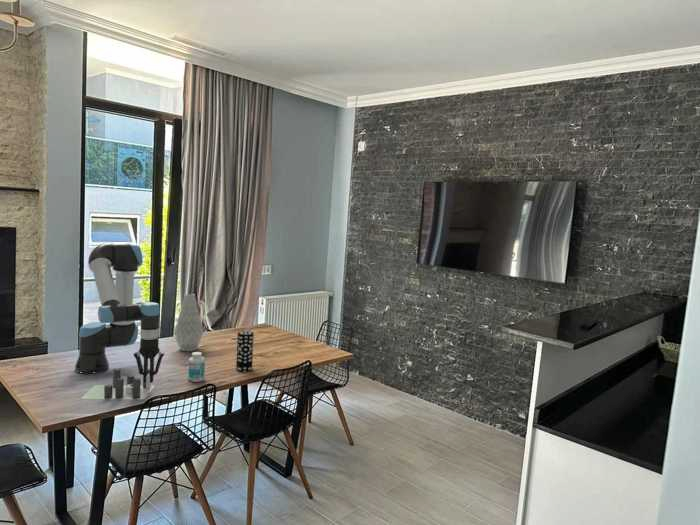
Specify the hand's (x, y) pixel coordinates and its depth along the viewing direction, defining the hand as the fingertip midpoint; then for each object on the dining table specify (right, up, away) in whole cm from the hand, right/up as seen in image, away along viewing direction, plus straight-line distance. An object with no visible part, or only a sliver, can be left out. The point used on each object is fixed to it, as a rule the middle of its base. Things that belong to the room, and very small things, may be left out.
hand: (148, 389), depth 225 cm
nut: (-6, -1, -1) cm, 7 cm away
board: (-12, -2, -2) cm, 13 cm away
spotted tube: (+34, -1, +42) cm, 54 cm away
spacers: (-9, -1, -1) cm, 9 cm away
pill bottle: (+15, -1, +22) cm, 27 cm away
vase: (-6, +5, +74) cm, 74 cm away
